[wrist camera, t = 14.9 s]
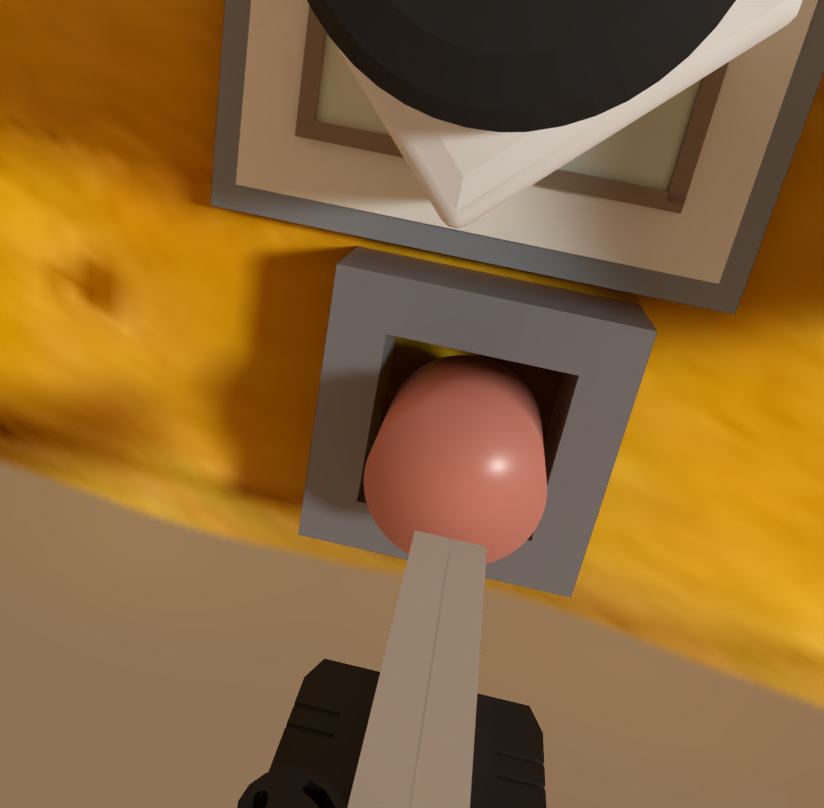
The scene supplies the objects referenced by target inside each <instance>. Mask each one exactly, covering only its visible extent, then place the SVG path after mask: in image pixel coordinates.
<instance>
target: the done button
mask: <svg viewBox="0 0 824 808" xmlns="http://www.w3.org/2000/svg"><path fill="white" fill-rule="evenodd" d="M364 493H365V498H366V502H367V505H368V508H369V511H370V513H371V515H372V517H373V519H374V521H375V522H376V524H377V525H378V527H379V528H380V530H381V531H382V532H383V533H384V534H385V536H386V537H387V538H388V539H389V540H390V541H391V542H393V543H394V544H395V545H396V546H397V547H399V548H400V549H401V550H403V551H404V552H406V553H408V554H409V553H410V549H411V545H412V540H413V536H414V532H415V530H416V531H420V532H425V533H429V534H433V535H438V536H442V537H446V538H451V539H455V540H459V541H464V542H468V543H472V544H477V545H481V546H486V547H487V554H486V564H488V563H492V562H494V561H497V560H499V559H501V558H504V557H505V556H507V555H509V554H511V553H512V552H514V551H515V550H516V549H518V548H519V547H520V546H521V545H522V544H523V543H524V542H525V541H526V540H527V539H528V538H529V537H530V536H531V535H532V533H533V532H534V531H535V529H536V528H537V526H538V524H539V522H540V520H541V518H542V515H543V513H544V510H545V505H546V500H547V479H546V467H545V456H544V444H543V432H542V421H541V415H540V411H539V407H538V405H537V402H536V400H535V398H534V396H533V394H532V392H531V391H530V389H529V388H528V387H527V385H526V384H525V383H524V382H523V381H522V380H521V379H520V378H519V377H518V376H517V375H516V374H515V373H513V372H512V371H511V370H509V369H508V368H506V367H504V366H502V365H501V364H499V363H496V362H494V361H492V360H488V359H485V358H481V357H476V356H464V355H458V356H449V357H445V358H440V359H437V360H434V361H432V362H429V363H427V364H425V365H423V366H422V367H420V368H419V369H417V370H416V371H414V372H413V373H412V374H411V375H410V376H409V377H408V378H407V379H405V381H404V382H403V383H402V384H401V386H400V387H399V389H398V390H397V392H396V394H395V396H394V398H393V400H392V403H391V405H390V407H389V410H388V412H387V414H386V417H385V419H384V421H383V423H382V426H381V428H380V430H379V433H378V435H377V437H376V440H375V442H374V444H373V447H372V449H371V451H370V454H369V456H368V459H367V462H366V466H365V471H364Z"/></svg>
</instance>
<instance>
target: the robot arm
mask: <svg viewBox="0 0 824 808" xmlns="http://www.w3.org/2000/svg"><path fill="white" fill-rule="evenodd" d="M486 554H487V547H486V546H481V545H477V544H472V543H468V542H464V541H459V540H455V539H451V538H446V537H442V536H438V535H433V534H429V533H425V532H420V531H416V530H415V532H414V536H413V540H412V545H411V549H410V553H409V557H408V561H407V565H406V569H405V573H404V577H403V581H402V586H401V590H400V594H399V598H398V602H397V606H396V610H395V614H394V618H393V622H392V627H391V631H390V635H389V639H388V644H387V647H386V651H385V656H384V659H383V664H382V668H381V672H378V671H373V670H369V669H365V668H361V667H357V666H352V665H349V664H344V663H340V662H336V661H332V660H327V659H324V660H323V661H321V662H320V663H319V664H318V665H317V666H316V667H315V668H314V669H313V670H312V671H311V672H310V673H309V674H307V675H306V676H305V677H304V680H303V683H302V685H301V688H300V691H299V693H298V696H297V698H296V701H295V705H294V707H293V709H292V712H291V714H290V717H289V719H288V722H287V726H286V728H285V730H284V733H283V736H282V738H281V741H280V743H279V746H278V749H277V751H276V754H275V757H274V759H273V762H272V765H271V767H270V770H269V772H268V773H265V774H264V775H263V776H261V777H260V778H258V779H257V780H255V781H254V782H253V783H251V784H250V785H249V786H248V787H247V789H246V790H245V792H244V794H243V795H242V797H241V798H240V799H239V801H238V807H237V808H546V794H545V790H544V786H545V772H544V766H543V763H544V753H543V733H542V731H541V729H540V727H539V725H538V722H537V720H536V718H535V717H534V714H533V713H532V710H531V708H530V706H527V705H523V704H518V703H515V702H510V701H506V700H502V699H498V698H494V697H489V696H486V695H481V694H477V690H478V676H479V660H480V645H481V630H482V614H483V598H484V584H485V569H486Z"/></svg>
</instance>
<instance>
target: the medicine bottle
mask: <svg viewBox="0 0 824 808" xmlns="http://www.w3.org/2000/svg"><path fill="white" fill-rule="evenodd" d="M307 1H308V3H309V5H310V8H311V9H312V11H313V12H314V14H315V15H316V17H317V19H318V20H319V22H320V23H321V25H322V26H323V28H324V29H325V31H326V32H327V34H328V35H329V37H330V38H331V40H332V41H333V42H334V43H335V44H336V46H337V47H338V49H339V51H340V52H341V54H342V56H343V57H344V59H345V61H346V62H347V64H348V66H349V67H350V69H351V71H352V72H353V74H354V76H355V77H356V79H357V81H358V82H359V84H360V86H361V87H362V89H363V91H364V92H365V94H366V96H367V97H368V99H369V101H370V102H371V104H372V106H373V107H374V109H375V111H376V112H377V114H378V116H379V117H380V119H381V121H382V122H383V124H384V126H385V127H386V129H387V130H388V132H389V134H390V135H391V137H392V139H393V140H394V142H395V144H396V145H397V147H398V149H399V150H400V152H401V154H402V155H403V157H404V159H405V160H406V162H407V164H408V165H409V167H410V169H411V170H412V172H413V174H414V175H415V177H416V179H417V180H418V182H419V184H420V185H421V187H422V189H423V190H424V192H425V194H426V195H427V197H428V199H429V200H430V202H431V204H432V205H433V207H434V209H435V210H436V212H437V214H438V215H439V217H440V218H441V220H442V221H443V222H444V223H445V224H446V225H447V226H448V227H453V228H457V229H459V228H462V227H465V226H468V225H469V224H471V223H473V222H474V221H476V220H477V219H479V218H481V217H482V216H484V215H485V214H487V213H489V212H490V211H492V210H493V209H495V208H497V207H498V206H500V205H501V204H503V203H505V202H506V201H508V200H509V199H511V198H512V197H514V196H516V195H517V194H519V193H520V192H522V191H524V190H525V189H527V188H528V187H530V186H532V185H533V184H535V183H536V182H538V181H540V180H541V179H543V178H544V177H546V176H548V175H549V174H551V173H552V172H554V171H556V170H557V169H559V168H560V167H562V166H563V165H565V164H567V163H568V162H570V161H571V160H573V159H575V158H576V157H578V156H579V155H581V154H583V153H584V152H586V151H587V150H589V149H591V148H592V147H594V146H595V145H597V144H599V143H600V142H602V141H603V140H605V139H607V138H608V137H610V136H611V135H613V134H614V133H616V132H618V131H619V130H621V129H622V128H624V127H626V126H627V125H629V124H630V123H632V122H634V121H635V120H637V119H638V118H640V117H642V116H643V115H645V114H646V113H648V112H650V111H651V110H653V109H654V108H656V107H658V106H659V105H661V104H662V103H664V102H665V101H667V100H669V99H670V98H672V97H673V96H675V95H677V94H678V93H680V92H681V91H683V90H685V89H686V88H688V87H689V86H691V85H693V84H694V83H696V82H697V81H699V80H701V79H702V78H704V77H705V76H707V75H709V74H710V73H712V72H713V71H715V70H716V69H718V68H720V67H721V66H723V65H724V64H726V63H728V62H729V61H731V60H732V59H734V58H736V57H737V56H739V55H740V54H742V53H744V52H745V51H747V50H748V49H750V48H752V47H753V46H755V45H756V44H758V43H760V42H761V41H763V40H764V39H766V38H767V37H769V36H771V35H772V34H774V33H775V32H777V31H779V30H780V29H782V28H783V27H785V26H787V25H788V24H789V23H790V22H791V21H792V20H793V19H794V18H795V17H796V16H797V14H798V12H799V9H800V6H801V4H802V0H307Z"/></svg>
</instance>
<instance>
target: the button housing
mask: <svg viewBox="0 0 824 808" xmlns="http://www.w3.org/2000/svg"><path fill="white" fill-rule="evenodd" d="M656 334H657V330H656V329H655V327H654V326H653V324H652V323H651V321H650V320H649V318H648V317H647V315H646V313H645V312H644V310H643V309H642V307H641V306H640V305H637V304H632V303H628V302H623V301H618V300H613V299H608V298H604V297H599V296H594V295H589V294H585V293H580V292H575V291H570V290H565V289H561V288H556V287H551V286H546V285H541V284H537V283H532V282H527V281H522V280H517V279H513V278H508V277H503V276H498V275H494V274H489V273H484V272H479V271H474V270H470V269H465V268H460V267H455V266H450V265H446V264H441V263H436V262H431V261H426V260H422V259H417V258H412V257H407V256H403V255H398V254H393V253H388V252H383V251H379V250H374V249H369V248H364V247H359V246H358V247H356V248H355V249H354V250H353V251H352V252H350V253H349V254H348V255H347V256H346V257H344V258H343V259H342V260H341V261H340V262H338V263H337V265H336V272H335V279H334V286H333V293H332V301H331V308H330V315H329V322H328V329H327V336H326V343H325V350H324V357H323V364H322V371H321V378H320V385H319V392H318V399H317V406H316V413H315V421H314V428H313V435H312V442H311V449H310V456H309V463H308V470H307V477H306V484H305V491H304V498H303V505H302V512H301V519H300V526H299V534H298V535H303V536H307V537H311V538H316V539H320V540H324V541H328V542H333V543H337V544H341V545H346V546H350V547H354V548H359V549H363V550H367V551H372V552H376V553H380V554H385V555H389V556H393V557H398V558H402V559H406V560H408V557H409V554H408V553H406V552H404V551H403V550H401V549H400V548H399V547H397V546H396V545H395V544H394V543H393V542H391V541H390V540H389V539H388V538H387V537H386V536H385V534H384V533H383V532H382V531H381V530H380V528H379V527H378V525H377V524H376V522H375V521H374V519H373V517H372V515H371V513H370V511H369V508H368V505H367V502H366V498H365V493H364V471H365V466H366V462H367V459H368V456H369V454H370V451H371V449H372V447H373V444H374V442H375V440H376V437H377V435H378V433H379V428H380V423H381V417H382V412H383V406H384V401H385V395H386V389H387V384H388V378H389V373H390V367H391V362H392V356H393V351H394V345H395V340H396V337H401V338H406V339H410V340H415V341H420V342H424V343H429V344H434V345H438V346H443V347H448V348H452V349H457V350H462V351H466V352H471V353H475V354H480V355H485V356H489V357H494V358H499V359H503V360H508V361H513V362H517V363H522V364H527V365H531V366H536V367H541V368H545V369H550V370H555V371H559V372H564V374H563V377H562V381H561V384H560V388H559V392H558V395H557V399H556V402H555V406H554V409H553V413H552V417H551V420H550V424H549V427H548V431H547V435H546V438H545V442H544V456H545V467H546V479H547V500H546V505H545V510H544V513H543V515H542V518H541V520H540V522H539V524H538V526H537V528H536V529H535V531H534V532H533V533H532V535H531V536H530V537H529V538H528V539H527V540H526V541H525V542H524V543H523V544H522V545H521V546H520V547H519V548H518V549H516V550H515V551H514V552H512V553H511V554H509V555H507V556H505V557H504V558H501V559H499V560H497V561H494V562H492V563H488V564H486V569H485V578H488V579H493V580H497V581H501V582H506V583H510V584H514V585H519V586H523V587H527V588H532V589H536V590H540V591H545V592H549V593H553V594H558V595H562V596H566V597H571V596H572V593H573V589H574V586H575V583H576V580H577V577H578V574H579V571H580V568H581V565H582V562H583V559H584V556H585V553H586V549H587V546H588V543H589V540H590V537H591V534H592V531H593V528H594V525H595V522H596V519H597V516H598V513H599V509H600V506H601V503H602V500H603V497H604V494H605V491H606V488H607V485H608V482H609V479H610V476H611V473H612V469H613V466H614V463H615V460H616V457H617V454H618V451H619V448H620V445H621V442H622V439H623V436H624V433H625V429H626V426H627V423H628V420H629V417H630V414H631V411H632V408H633V405H634V402H635V399H636V396H637V393H638V389H639V386H640V383H641V380H642V377H643V374H644V371H645V368H646V365H647V362H648V359H649V356H650V353H651V349H652V346H653V343H654V340H655V337H656Z"/></svg>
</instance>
